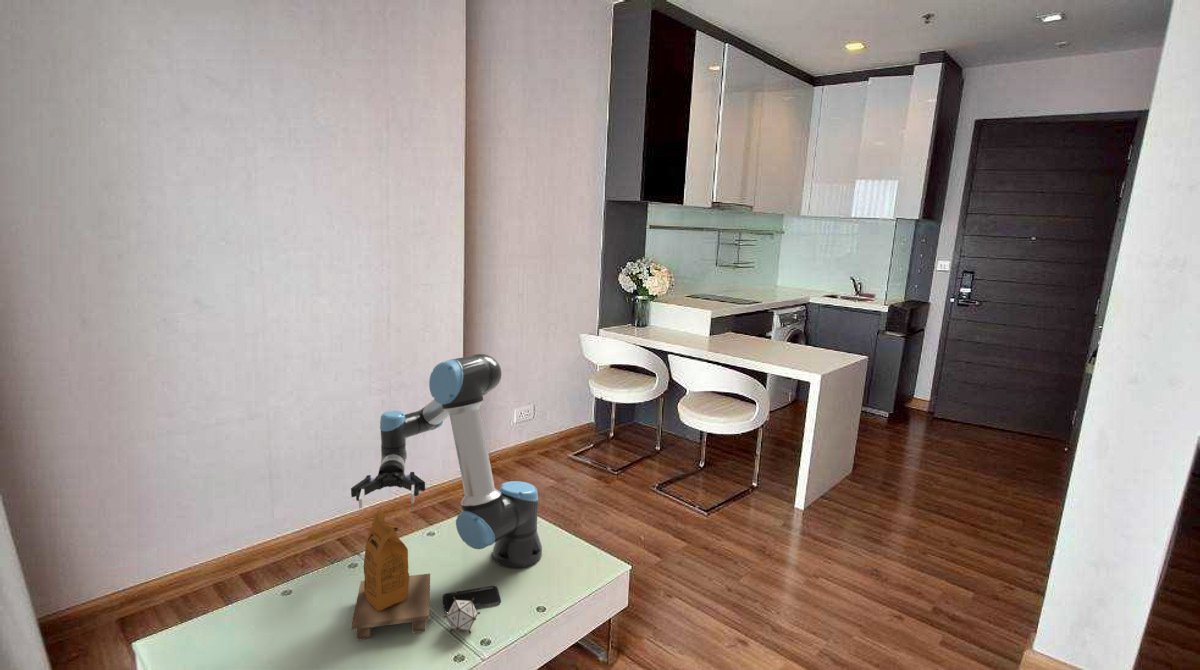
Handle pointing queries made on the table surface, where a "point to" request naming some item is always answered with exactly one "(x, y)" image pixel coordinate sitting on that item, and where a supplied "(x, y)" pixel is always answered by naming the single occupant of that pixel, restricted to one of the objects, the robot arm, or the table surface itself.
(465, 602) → the game die
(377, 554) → the coffee package
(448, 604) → the phone
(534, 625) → the table surface
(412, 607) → the small wooden platform
